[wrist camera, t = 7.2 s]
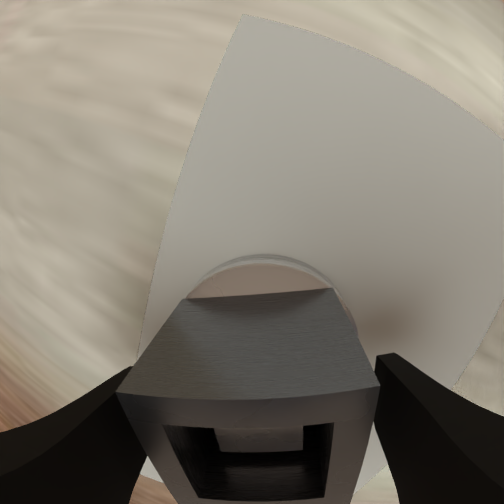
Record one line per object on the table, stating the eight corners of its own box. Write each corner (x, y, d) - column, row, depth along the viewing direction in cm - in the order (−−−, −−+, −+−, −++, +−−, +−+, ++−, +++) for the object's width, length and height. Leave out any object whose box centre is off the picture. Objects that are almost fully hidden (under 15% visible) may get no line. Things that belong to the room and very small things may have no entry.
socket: (332, 287, 9) (380, 385, 4) (330, 401, 10) (349, 504, 6) (182, 298, 10) (115, 391, 5) (207, 407, 11) (179, 505, 6)
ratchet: (350, 245, 10) (404, 296, 6) (330, 496, 15) (335, 550, 10) (164, 261, 11) (99, 316, 6) (232, 500, 15) (223, 553, 10)
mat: (535, 175, 9) (541, 176, 9) (327, 509, 16) (328, 513, 15) (243, 20, 9) (242, 14, 8) (127, 463, 16) (125, 467, 15)
